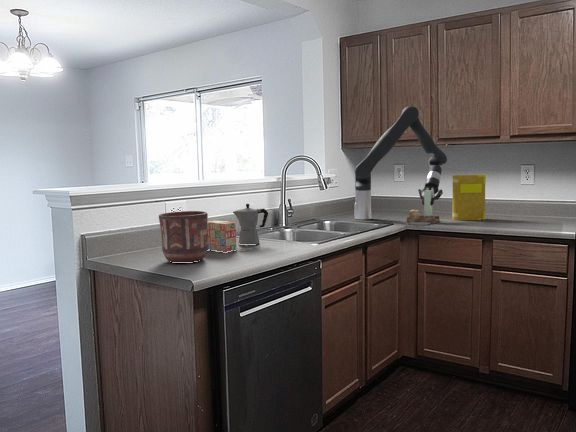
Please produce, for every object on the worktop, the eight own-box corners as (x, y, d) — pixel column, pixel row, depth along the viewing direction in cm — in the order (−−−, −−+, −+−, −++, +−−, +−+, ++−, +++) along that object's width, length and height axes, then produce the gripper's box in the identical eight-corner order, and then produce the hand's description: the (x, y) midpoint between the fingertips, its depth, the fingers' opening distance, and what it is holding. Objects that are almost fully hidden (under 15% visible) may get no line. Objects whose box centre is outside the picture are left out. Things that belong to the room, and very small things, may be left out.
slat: (424, 216, 284) (424, 190, 283) (425, 215, 288) (426, 190, 286) (430, 216, 282) (430, 190, 281) (432, 215, 286) (432, 190, 284)
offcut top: (409, 215, 286) (409, 211, 285) (412, 214, 293) (412, 209, 293) (416, 215, 284) (416, 211, 284) (419, 214, 292) (419, 209, 291)
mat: (408, 224, 275) (408, 223, 275) (412, 223, 282) (412, 222, 282) (427, 225, 271) (427, 224, 271) (431, 223, 278) (431, 222, 278)
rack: (406, 222, 285) (406, 217, 285) (412, 220, 295) (412, 215, 295) (434, 223, 278) (434, 218, 277) (439, 220, 288) (439, 215, 288)
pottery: (203, 255, 204) (200, 209, 202) (215, 262, 188) (212, 213, 186) (158, 260, 197) (154, 213, 195) (166, 268, 181) (162, 217, 179)
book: (481, 218, 294) (482, 174, 291) (485, 219, 287) (485, 174, 284) (451, 219, 295) (451, 175, 293) (453, 220, 289) (454, 175, 286)
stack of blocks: (190, 249, 219) (189, 220, 218) (201, 247, 224) (200, 219, 223) (226, 253, 206) (224, 223, 205) (237, 251, 211) (235, 221, 210)
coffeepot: (233, 246, 222) (231, 205, 220) (234, 243, 231) (233, 203, 229) (269, 245, 222) (267, 203, 220) (269, 242, 232) (267, 202, 230)
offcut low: (408, 220, 286) (408, 215, 286) (412, 218, 294) (412, 214, 294) (415, 220, 284) (415, 215, 284) (419, 218, 292) (419, 214, 292)
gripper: (419, 176, 292) (413, 199, 283) (444, 176, 286) (439, 200, 276) (421, 185, 298) (415, 208, 288) (446, 185, 291) (441, 209, 282)
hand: (427, 204), depth 283 cm, fingers closed on slat, 3 cm apart
